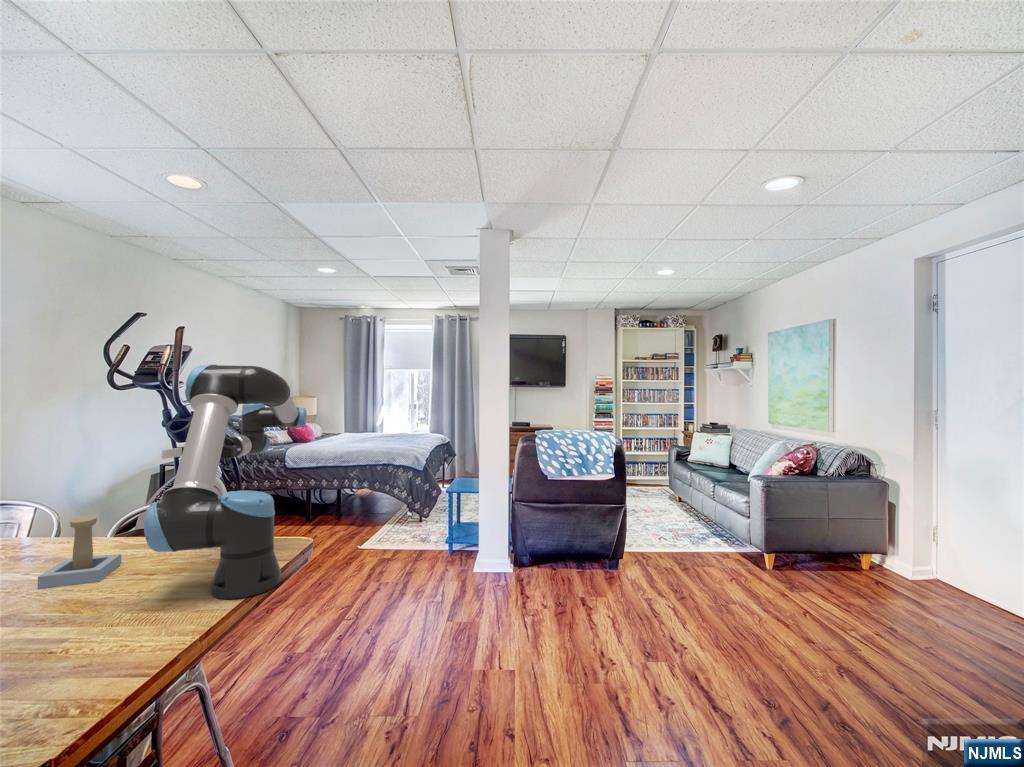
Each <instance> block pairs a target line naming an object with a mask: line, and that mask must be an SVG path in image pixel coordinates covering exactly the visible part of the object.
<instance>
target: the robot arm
mask: <svg viewBox="0 0 1024 767" xmlns="http://www.w3.org/2000/svg"><path fill="white" fill-rule="evenodd" d="M184 394H185V399H186V400H187V402H188V403H189V405H190V407H191V408H192V410H194V411H193V415H192V418H191V423H190V424H189V428H188V431H187V432H188V433H187V435H186V436H187V437H186V439H185V443H184V446H175V447H174V448H169V449H168V448H167V449H161V458H160V459H162V460H166V459H171V458H177V459H180V460H179V464H178V467H177V471H176V474H175V478H174V482H173V486H172V487H170V488H168V489H166V490H165V491H163V494H162V496H161V500H160V501H156V502H153V503H151V504H150V505H149V506H148V507H147V509H146V510H145V514H144V520H143V521H144V522H143V530H144V531H143V532H144V538H145V541H146V544H147V546H148V547H149V549H151V550H152V551H154V552H155V553H156V552H157V553H162V552H163V553H165V552H172V553H177V552H180V551H190V550H191V551H193V550H203V549H212V548H219V562H218V564H217V566H216V570H215V572H214V574H213V578H212V580H211V583H210V594H211V595H212V597H214V598H216V599H221V600H222V599H224V600H233V599H234V600H235V599H236V600H237V599H243V598H248V597H252V596H253V597H254V596H256V595H260V594H262V593H265V592H267V591H269V590H271V589H273V588H275V587H276V586H277V585H278V584H280V582H281V580H282V570H281V567H280V565H279V561H278V559H277V556H276V554H275V553H276V552H275V549H274V548H275V546H274V544H275V543H274V542H275V540H274V539H275V515H276V511H275V500H274V498H273V496H272V495H270V494H269V493H267V492H263V491H259V490H258V491H257V490H247V489H246V490H243V489H242V490H230V491H227V492H224V493H223V494H222V495H221V496H219V493H218V492H216V490H215V489H214V487H215V482H216V478H217V474H218V470H219V465H220V460H221V458H222V459H224V460H229V459H234V458H237V459H241V457H242V456H248V455H257V454H260V453H262V452H265V451H267V450H268V449H269V447H270V445H271V439H270V437H269V435H268V434H266V433H265V428H298V427H305V426H306V424H307V419H308V418H307V415H308V414H307V409H306V408H305V407H301V406H300V407H298V406H296V405H295V402H294V400H293V399H292V397H291V388H290V386H289V383H288V382H287V381H286V379H284V378H283V377H282V376H280V375H279V374H277V373H276V372H274V371H272V370H270V369H267V368H265V367H261V366H256V365H219V364H206V365H205V364H203V365H197V366H195V367H194V368H193V369H192V370H191V371H190V372H189V374H188V376H187V377H186V381H185V389H184ZM239 405H242V407H241V408H242V409H241V430H240V431H241V433H240V434H241V435H233V436H227V437H226V434H227V429H228V425H229V421H230V417H231V415H234V414H235V413H236V412H237V411H238V408H239ZM219 497H220V498H219Z"/></svg>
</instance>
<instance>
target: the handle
mask: <svg viewBox="0 0 1024 767" xmlns="http://www.w3.org/2000/svg"><path fill="white" fill-rule="evenodd" d="M97 521H98V516H96V515H85V516H80V517H79V516H78V517H75V518H73V519H71V520H70V522H69V523H70V524H69V526H70V527H71V528H73V529H74V535H73V536H74V538H73V548H72V559H73V570H81V569H90V568H91V567H92V559H93V557H94V547H93V546H94V545H93V544H94V543H93V532H92V531H93V526H94V525H95V524H97Z"/></svg>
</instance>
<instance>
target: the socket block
mask: <svg viewBox="0 0 1024 767" xmlns="http://www.w3.org/2000/svg"><path fill="white" fill-rule="evenodd" d="M120 564H121V565H122V553H117V554H107V555H98V556H93V559H92V567H91V568H90V569H81V570H73V558H68V559H66V558H65V560H63V561H62V562H60V563H58V564H56V565H55V566H53V567H52V568H50V569H48V570H47V571H45V572H43V573H42V574H40V575H38V576H37V590H42V589H47V588H49V589H50V588H56V587H57V588H59V587H65V586H66V585H67V586H74V585H83V584H91V583H97V582H98V583H99V582H101V581H102V580H103V579H104V578H106V577H107V576H109V575H110V574H111V573H112V572H114V571H115V570H116V569H117V568H119V567H120V566H121V565H120ZM119 565H120V566H119ZM118 566H119V567H118Z"/></svg>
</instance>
